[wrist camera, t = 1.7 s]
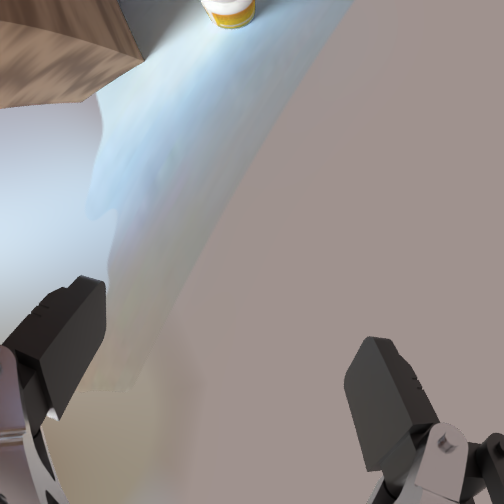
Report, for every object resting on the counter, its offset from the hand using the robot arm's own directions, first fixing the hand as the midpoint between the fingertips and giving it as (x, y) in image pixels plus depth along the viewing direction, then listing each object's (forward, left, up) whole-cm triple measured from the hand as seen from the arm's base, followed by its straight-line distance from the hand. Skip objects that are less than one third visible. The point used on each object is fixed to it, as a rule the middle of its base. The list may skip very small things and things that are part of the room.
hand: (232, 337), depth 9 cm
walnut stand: (+12, -24, -30) cm, 40 cm away
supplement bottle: (-5, -19, -30) cm, 36 cm away
